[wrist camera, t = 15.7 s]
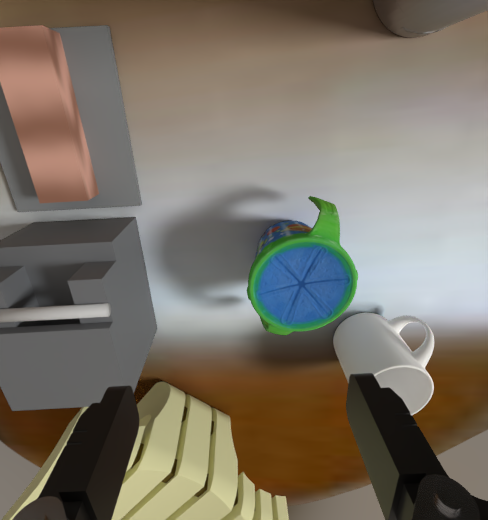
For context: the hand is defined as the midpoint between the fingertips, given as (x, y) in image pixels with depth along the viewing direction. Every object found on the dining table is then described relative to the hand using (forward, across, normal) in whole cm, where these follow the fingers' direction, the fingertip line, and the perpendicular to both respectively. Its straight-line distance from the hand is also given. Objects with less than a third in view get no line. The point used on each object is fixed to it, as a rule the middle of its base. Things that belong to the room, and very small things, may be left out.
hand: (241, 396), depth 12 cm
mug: (+28, -18, +19) cm, 39 cm away
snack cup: (+28, -6, +6) cm, 30 cm away
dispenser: (+28, +18, +9) cm, 35 cm away
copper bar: (+28, +18, -10) cm, 34 cm away
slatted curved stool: (+28, +12, +35) cm, 47 cm away
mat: (+28, +18, -9) cm, 35 cm away
